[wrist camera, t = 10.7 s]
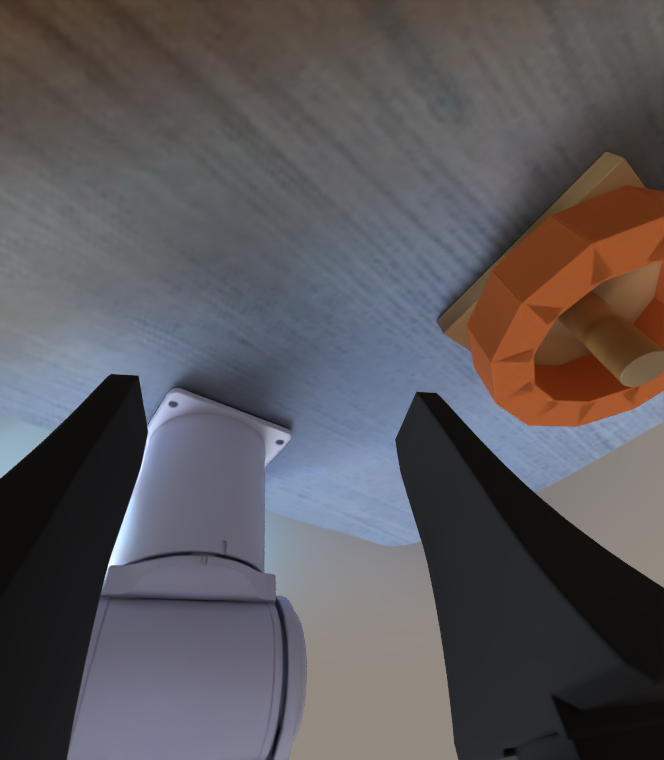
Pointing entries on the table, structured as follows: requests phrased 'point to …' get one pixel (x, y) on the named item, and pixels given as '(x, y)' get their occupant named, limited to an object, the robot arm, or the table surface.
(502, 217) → the table surface
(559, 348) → the peg stand
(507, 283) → the rubber ring
